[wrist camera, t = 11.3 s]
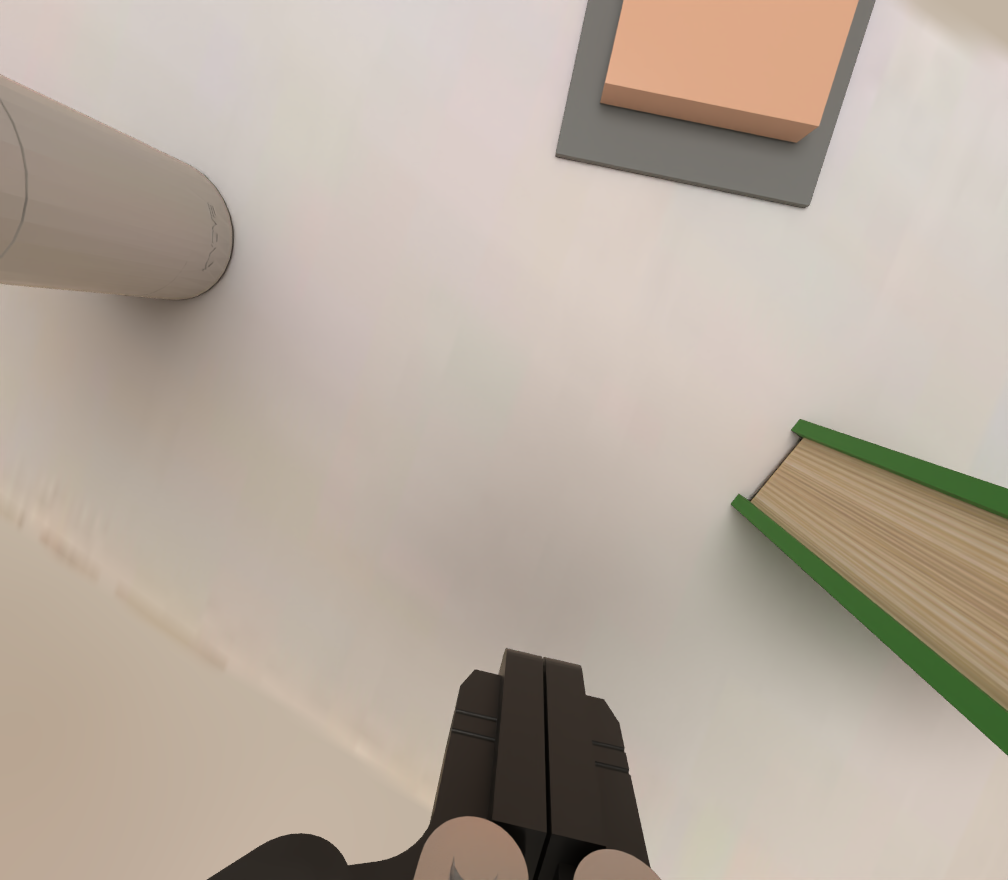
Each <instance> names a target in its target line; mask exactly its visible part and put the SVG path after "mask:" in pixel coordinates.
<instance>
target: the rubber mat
mask: <svg viewBox="0 0 1008 880" xmlns="http://www.w3.org/2000/svg"><path fill="white" fill-rule="evenodd" d="M622 3H623V0H588V3H587V8H586V13H585V18H584V22H583V27H582V32H581V36H580V41H579V46H578V50H577V55H576V60H575V65H574V69H573V74H572V79H571V83H570V88H569V93H568V98H567V102H566V107H565V112H564V116H563V121H562V126H561V131H560V135H559V140H558V145H557V149H556V157H561V158H566V159H571V160H575V161H580V162H585V163H590V164H595V165H600V166H604V167H609V168H614V169H619V170H624V171H628V172H633V173H638V174H643V175H648V176H653V177H657V178H662V179H667V180H672V181H677V182H682V183H686V184H691V185H696V186H701V187H706V188H711V189H715V190H720V191H725V192H730V193H735V194H739V195H744V196H749V197H754V198H759V199H764V200H768V201H773V202H778V203H783V204H788V205H793V206H797V207H802V208H805V207H808V206H809V205H810V202H811V199H812V196H813V193H814V190H815V187H816V184H817V181H818V177H819V174H820V171H821V168H822V165H823V162H824V159H825V156H826V153H827V149H828V146H829V143H830V140H831V137H832V134H833V131H834V128H835V125H836V122H837V118H838V115H839V112H840V109H841V106H842V103H843V100H844V97H845V94H846V90H847V87H848V84H849V81H850V78H851V75H852V72H853V69H854V66H855V63H856V59H857V56H858V53H859V50H860V47H861V44H862V41H863V38H864V35H865V31H866V28H867V25H868V22H869V19H870V16H871V13H872V10H873V7H874V4H875V0H859V1H858V4H857V7H856V10H855V14H854V17H853V20H852V23H851V26H850V29H849V33H848V36H847V39H846V42H845V45H844V48H843V52H842V55H841V58H840V61H839V64H838V67H837V71H836V74H835V77H834V80H833V83H832V87H831V90H830V93H829V96H828V99H827V102H826V106H825V109H824V112H823V115H822V118H821V121H820V125H819V127H817V128H816V129H815V130H813V131H812V132H810V133H809V134H808V135H806V136H805V137H804V138H802V139H801V140H800V141H798V142H797V143H795V142H790V141H785V140H780V139H775V138H770V137H765V136H760V135H755V134H751V133H746V132H741V131H736V130H731V129H726V128H721V127H716V126H711V125H706V124H701V123H697V122H692V121H687V120H682V119H677V118H672V117H667V116H662V115H657V114H652V113H648V112H643V111H638V110H633V109H628V108H623V107H618V106H613V105H608V104H603V103H600V100H601V96H602V91H603V87H604V83H605V78H606V74H607V69H608V65H609V60H610V56H611V52H612V47H613V43H614V38H615V34H616V29H617V25H618V21H619V16H620V12H621V7H622Z"/></svg>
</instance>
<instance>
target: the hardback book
mask: <svg viewBox="0 0 1008 880" xmlns="http://www.w3.org/2000/svg"><path fill="white" fill-rule="evenodd" d="M791 430H792V431H793V432H795V433H796V434H797V435H799V436H800V437H802V438H803V439H802V440H801V441H800V442H799V444H798V445H797V446H796V447H795V449H794V450H793V451H792V452H791V453H790V455H789V456H788V457H787V458H786V459H785V461H784V462H783V463H782V464H781V465H780V467H779V468H778V469H777V470H776V472H775V473H774V474H773V475H772V476H771V478H770V479H769V480H768V481H767V482H766V484H765V485H764V486H763V487H762V488H761V490H760V491H759V492H758V493H757V494H756V496H755V497H754V498H753V499H752V501H749V500H748V499H746V498H745V497H743V496H742V495H740V494H738V495H737V497H736V498H735V499H734V500H733V502H732V503H731V505H732V506H733V507H735V508H736V509H737V510H738V511H739V512H740V513H741V514H742V515H743V516H744V517H746V518H747V519H748V520H749V521H750V522H751V523H752V524H753V525H754V526H755V527H757V528H758V529H759V530H760V531H761V532H762V533H763V534H764V535H765V536H766V537H768V538H769V539H770V540H771V541H772V542H773V543H774V544H775V545H776V546H777V547H779V548H780V549H781V550H782V551H783V552H784V553H785V554H786V555H787V556H789V557H790V558H791V559H792V560H793V561H794V562H795V563H796V564H797V565H798V566H800V567H801V568H802V569H803V570H804V571H805V572H806V573H807V574H808V575H809V576H811V577H812V578H813V579H814V580H815V581H816V582H817V583H818V584H819V585H820V586H822V587H823V588H824V589H825V590H826V591H827V592H828V593H829V594H830V595H831V596H833V597H834V598H835V599H836V600H837V601H838V602H839V603H840V604H841V605H842V606H844V607H845V608H846V609H847V610H848V611H849V612H850V613H851V614H852V615H853V616H855V617H856V618H857V619H858V620H859V621H860V622H861V623H862V624H863V625H865V626H866V627H867V628H868V629H869V630H870V631H871V632H872V633H873V634H874V635H876V636H877V637H878V638H879V639H880V640H881V641H882V642H883V643H884V644H885V645H887V646H888V647H889V648H890V649H891V650H892V651H893V652H894V653H895V654H896V655H898V656H899V657H900V658H901V659H902V660H903V661H904V662H905V663H906V664H907V665H909V666H910V667H911V668H912V669H913V670H914V671H915V672H916V673H917V674H918V675H920V676H921V677H922V678H923V679H924V680H925V681H926V682H927V683H928V684H929V685H931V686H932V687H933V688H934V689H935V690H936V691H937V692H938V693H939V694H941V695H942V696H943V697H944V698H945V699H946V700H947V701H948V702H949V703H950V704H952V705H953V706H954V707H955V708H956V709H957V710H958V711H959V712H960V713H961V714H963V715H964V716H965V717H966V718H967V719H968V720H969V721H970V722H971V723H972V724H974V725H975V726H976V727H977V728H978V729H979V730H980V731H981V732H982V733H983V734H985V735H986V736H987V737H988V738H989V739H990V740H991V741H992V742H993V743H994V744H996V745H997V746H998V747H999V748H1000V749H1001V750H1002V751H1003V752H1004V753H1005V754H1007V755H1008V489H1007V488H1004V487H1001V486H998V485H995V484H992V483H989V482H986V481H983V480H980V479H977V478H974V477H971V476H968V475H965V474H962V473H959V472H956V471H953V470H950V469H947V468H944V467H941V466H938V465H935V464H932V463H929V462H927V461H924V460H921V459H918V458H915V457H912V456H909V455H906V454H903V453H900V452H897V451H894V450H891V449H888V448H885V447H882V446H879V445H876V444H873V443H870V442H867V441H864V440H861V439H858V438H855V437H852V436H849V435H846V434H843V433H840V432H837V431H834V430H831V429H828V428H825V427H822V426H819V425H816V424H813V423H810V422H807V421H804V420H801V419H800V420H799V421H798V422H797V423H796V424H795V426H794V427H793V428H792V429H791Z"/></svg>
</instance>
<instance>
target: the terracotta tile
mask: <svg viewBox="0 0 1008 880" xmlns="http://www.w3.org/2000/svg"><path fill="white" fill-rule="evenodd" d="M858 1H859V0H623V3H622V7H621V12H620V16H619V21H618V25H617V29H616V34H615V38H614V43H613V47H612V52H611V56H610V60H609V65H608V69H607V74H606V78H605V83H604V87H603V91H602V96H601V100H600V103H603V104H608V105H613V106H618V107H623V108H628V109H633V110H638V111H643V112H648V113H652V114H657V115H662V116H667V117H672V118H677V119H682V120H687V121H692V122H697V123H701V124H706V125H711V126H716V127H721V128H726V129H731V130H736V131H741V132H746V133H751V134H755V135H760V136H765V137H770V138H775V139H780V140H785V141H790V142H795V143H797V142H798V141H800V140H801V139H802V138H804V137H805V136H806V135H808V134H809V133H810V132H812V131H813V130H815V129H816V128H817V127H819V125H820V121H821V118H822V115H823V112H824V109H825V106H826V102H827V99H828V96H829V93H830V90H831V87H832V83H833V80H834V77H835V74H836V71H837V67H838V64H839V61H840V58H841V55H842V52H843V48H844V45H845V42H846V39H847V36H848V33H849V29H850V26H851V23H852V20H853V17H854V14H855V10H856V7H857V4H858Z"/></svg>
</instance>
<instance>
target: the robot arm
mask: <svg viewBox="0 0 1008 880" xmlns="http://www.w3.org/2000/svg"><path fill="white" fill-rule="evenodd" d="M231 249H232V226H231V221H230V216H229V213H228V210H227V208H226V205H225V203H224V200H223V199H222V197H221V195H220V194H219V192H218V191H217V189H216V187H215V186H214V185H213V184H212V183H211V182H210V181H209V180H208V179H207V178H206V176H205V175H203V174H202V173H201V172H199V171H198V170H197V169H195V168H194V167H192V166H191V165H188V164H186V163H184V162H182V161H180V160H178V159H176V158H174V157H172V156H170V155H168V154H166V153H163V152H161V151H159V150H157V149H155V148H153V147H151V146H149V145H147V144H145V143H143V142H141V141H139V140H137V139H135V138H133V137H131V136H129V135H127V134H124V133H122V132H120V131H118V130H116V129H114V128H112V127H110V126H108V125H106V124H103V123H101V122H99V121H97V120H95V119H93V118H91V117H89V116H87V115H85V114H82V113H80V112H78V111H76V110H74V109H72V108H70V107H68V106H66V105H64V104H61V103H59V102H57V101H55V100H53V99H51V98H49V97H47V96H45V95H43V94H40V93H38V92H36V91H34V90H32V89H30V88H28V87H26V86H24V85H22V84H19V83H17V82H15V81H13V80H11V79H9V78H7V77H5V76H3V75H1V74H0V284H6V285H17V286H28V287H39V288H50V289H61V290H72V291H83V292H94V293H105V294H116V295H125V296H136V297H148V298H159V299H178V300H183V299H188V298H192V297H196V296H198V295H200V294H202V293H204V292H206V291H207V290H208V289H210V288H211V287H212V286H213V285H214V284H215V283H216V282H217V281H218V280H219V278H220V277H221V276H222V274H223V273H224V271H225V269H226V266H227V264H228V262H229V259H230V255H231ZM207 880H661V879H660V878H659V876H658V875H657V874H656V873H655V872H654V871H653V870H652V869H651V867H650V864H649V860H648V855H647V851H646V846H645V841H644V837H643V832H642V827H641V823H640V818H639V813H638V809H637V804H636V799H635V795H634V790H633V785H632V781H631V776H630V775H629V767H628V762H627V757H626V753H624V743H623V739H622V734H621V729H620V725H619V722H618V720H617V719H616V717H615V716H614V714H613V713H612V711H611V710H610V708H609V706H608V705H607V703H606V702H605V700H604V699H600V698H596V697H591V696H587V695H586V694H585V687H584V680H583V673H582V668H581V666H580V665H577V664H573V663H568V662H564V661H560V660H555V659H551V658H547V657H544V658H543V659H542V656H537V655H533V654H529V653H525V652H520V651H516V650H512V649H507V648H506V649H505V652H504V655H503V659H502V663H501V667H500V671H499V675H496V674H492V673H488V672H484V671H479V670H474V671H473V672H472V673H471V674H470V676H469V677H468V678H467V679H466V680H465V681H464V682H463V683H462V685H461V686H460V690H459V694H458V698H457V702H456V707H455V711H454V715H453V720H452V724H451V728H450V732H449V737H448V741H447V745H446V750H445V754H444V759H443V764H442V768H441V773H440V778H439V783H438V787H437V792H436V797H435V802H434V806H433V811H432V816H431V820H430V825H429V827H428V829H427V830H426V831H425V833H424V835H423V836H422V837H421V838H420V839H419V840H418V841H417V842H416V844H414V845H413V846H412V847H410V848H409V849H408V850H406V851H405V852H403V853H401V854H399V855H398V856H395V857H392V858H390V859H387V860H382V861H377V862H370V863H363V864H355V865H347V863H346V861H345V859H344V857H343V855H342V854H341V853H340V851H339V850H338V849H337V848H336V847H335V846H334V845H333V844H331V843H330V842H329V841H327V840H325V839H323V838H321V837H318V836H315V835H311V834H302V833H300V834H289V835H285V836H281V837H278V838H275V839H273V840H270V841H268V842H266V843H264V844H263V845H261V846H259V847H257V848H256V849H254V850H253V851H251V852H250V853H248V854H247V855H245V856H243V857H242V858H240V859H239V860H237V861H235V862H234V863H232V864H231V865H229V866H228V867H226V868H224V869H223V870H221V871H220V872H218V873H217V874H215V875H213V876H212V877H210V878H209V879H207Z"/></svg>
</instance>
